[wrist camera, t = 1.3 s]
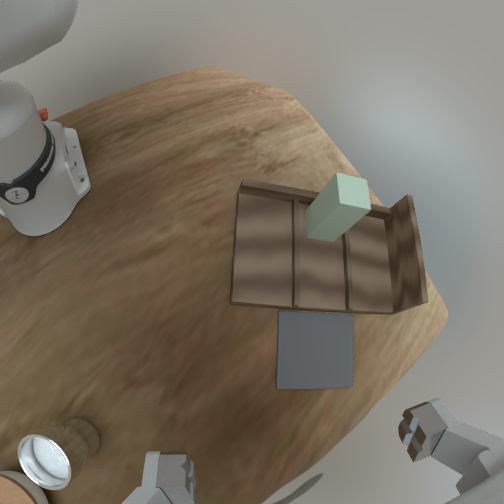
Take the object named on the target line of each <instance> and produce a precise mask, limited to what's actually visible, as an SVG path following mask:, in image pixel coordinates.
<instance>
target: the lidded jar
mask: <svg viewBox="0 0 504 504" xmlns="http://www.w3.org/2000/svg"><path fill="white" fill-rule="evenodd" d="M0 504H49V503H48V500H47V498H46V495H45V494H44V492H43V490H42V489H41V488H40V487H39V485H37V484H36V483H34V482H33V481H32V480H31V479H30V478H29V477H28V476H26V475H24V474H22V473H19V472H16V471H1V472H0Z"/></svg>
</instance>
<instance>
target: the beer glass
mask: <svg viewBox="0 0 504 504" xmlns="http://www.w3.org/2000/svg"><path fill="white" fill-rule="evenodd" d="M99 445H100V437H99V434H98V432H97V430H96V428H95V427H94V426H93V425H92V424H91V423H90V422H88V421H86V420H84V419H81V418H72V419H69V420H68V421H66V422H65V423H64V425H49V426H46V427H42V428H40V429H38V430H36V431H34V432H33V433H31V434H30V435H28V436H26V437H24V438H23V439H22V440H21V442H20V443H19V446H18V459H19V462H20V465H21V467H22V469H23V471H24V472H25V473H26V475H27V476H28V477H29V478H30V479H31V480H32V481H33V482H34V483H36V484H37V485H39V486H41V487H43V488H45V489H49V490H59V489H62V488H64V487H65V486H66V485H67V484H69V483H70V482H72V481H73V480H74V479H75V478H77V477H78V476H79V474H80V473H81V472H82V471H83V469H84V467H85V465H86V462H87V459H88V456H91V455H93V454H94V453H95V452H96V451H97V450H98V448H99Z"/></svg>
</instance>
